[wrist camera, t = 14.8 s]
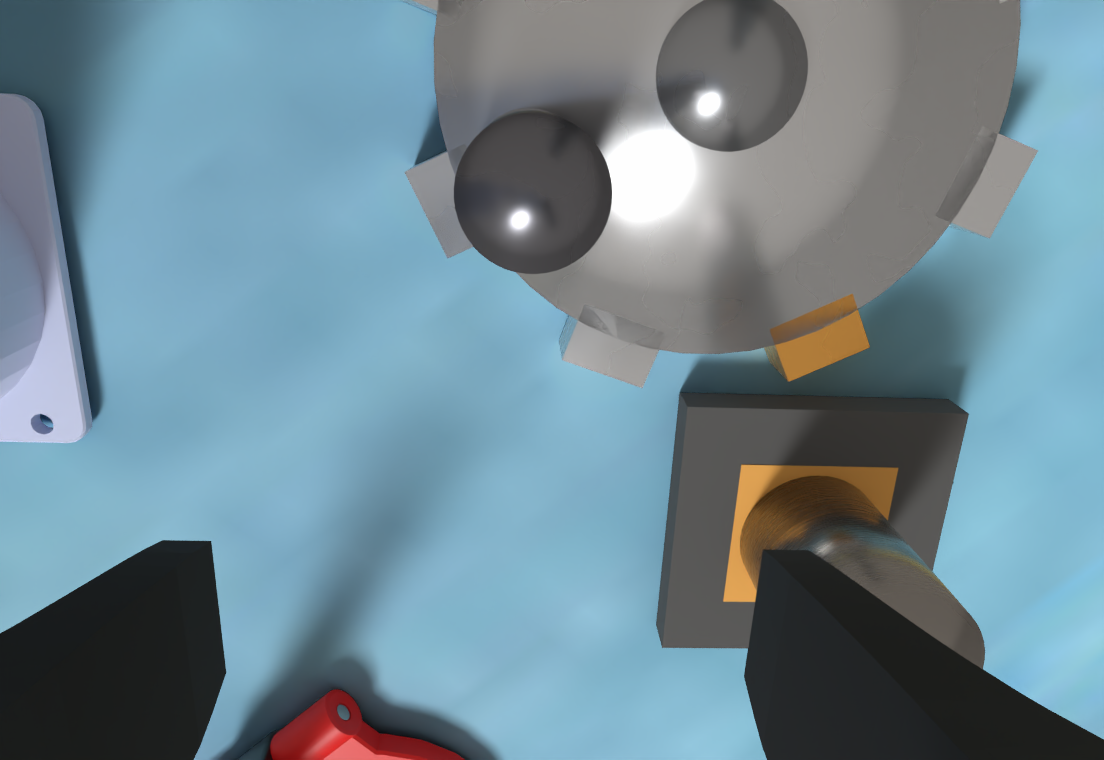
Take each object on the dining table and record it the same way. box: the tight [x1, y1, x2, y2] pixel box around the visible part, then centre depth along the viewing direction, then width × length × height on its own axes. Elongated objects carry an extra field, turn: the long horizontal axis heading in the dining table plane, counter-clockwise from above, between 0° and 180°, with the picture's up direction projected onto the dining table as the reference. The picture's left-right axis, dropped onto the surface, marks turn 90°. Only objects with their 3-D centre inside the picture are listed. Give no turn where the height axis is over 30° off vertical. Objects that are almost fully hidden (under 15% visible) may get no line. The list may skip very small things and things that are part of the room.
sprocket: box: [401, 0, 1038, 388], centre depth 15 cm, size 14×14×6 cm
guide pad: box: [656, 393, 969, 648], centre depth 21 cm, size 7×7×1 cm
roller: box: [740, 476, 985, 669], centre depth 18 cm, size 4×4×5 cm
